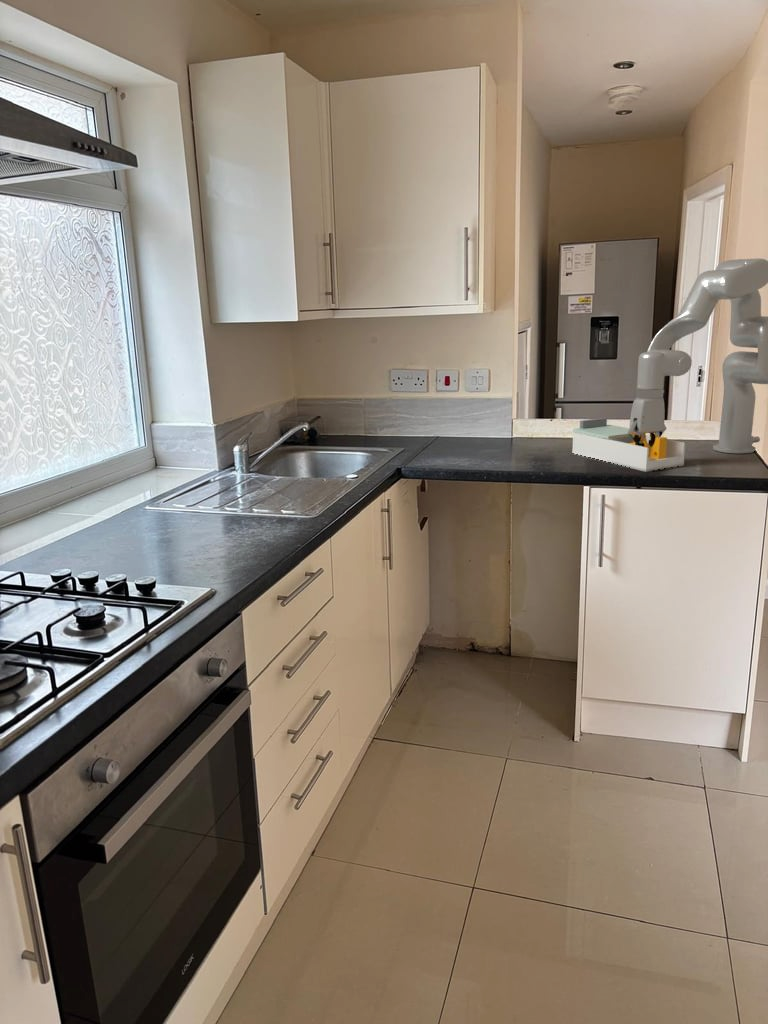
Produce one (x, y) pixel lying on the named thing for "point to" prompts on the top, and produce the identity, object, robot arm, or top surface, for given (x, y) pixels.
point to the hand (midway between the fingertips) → (645, 454)
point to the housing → (627, 452)
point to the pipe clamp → (656, 447)
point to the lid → (601, 429)
